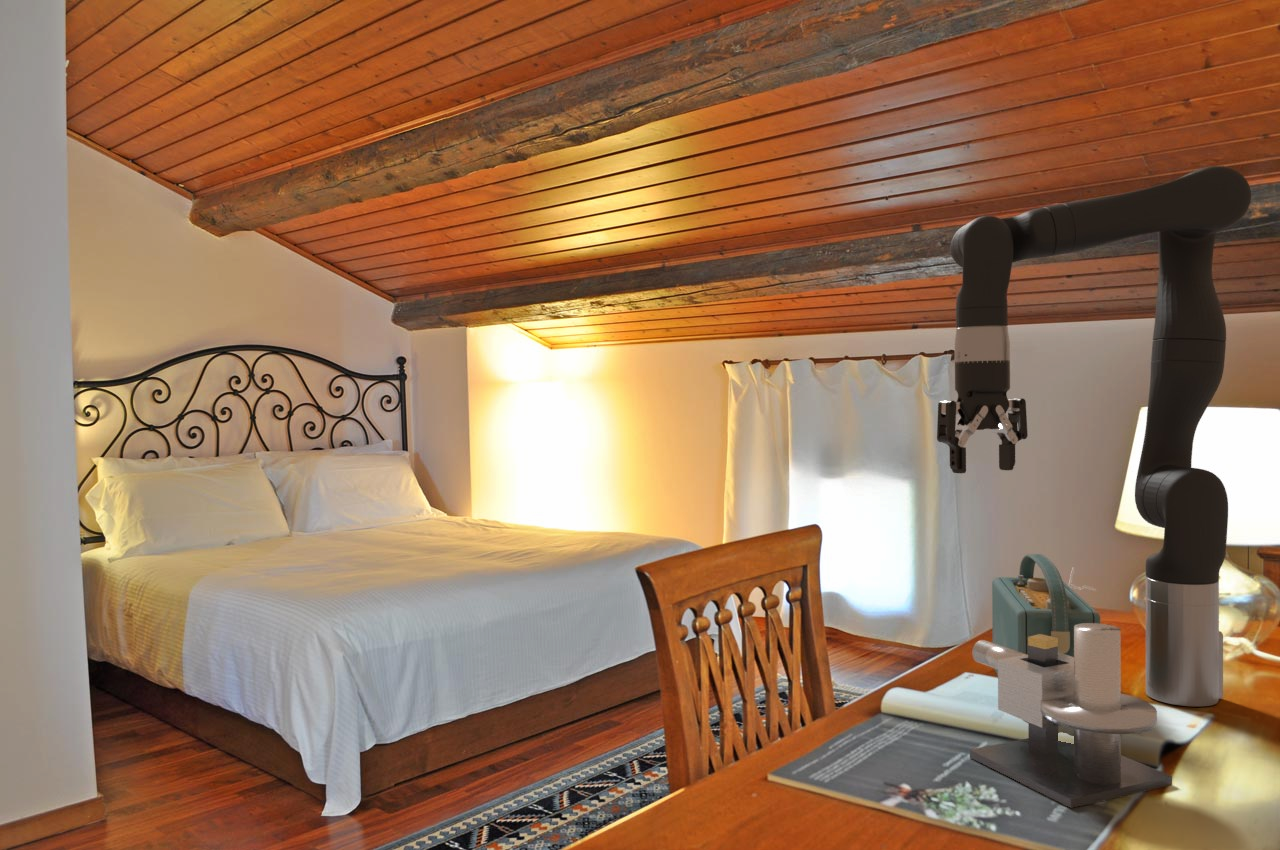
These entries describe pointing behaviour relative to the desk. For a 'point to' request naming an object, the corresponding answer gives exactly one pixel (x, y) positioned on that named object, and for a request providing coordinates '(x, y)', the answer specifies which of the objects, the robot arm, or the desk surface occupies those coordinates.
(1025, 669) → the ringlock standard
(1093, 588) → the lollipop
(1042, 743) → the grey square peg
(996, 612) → the radio
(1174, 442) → the robot arm
